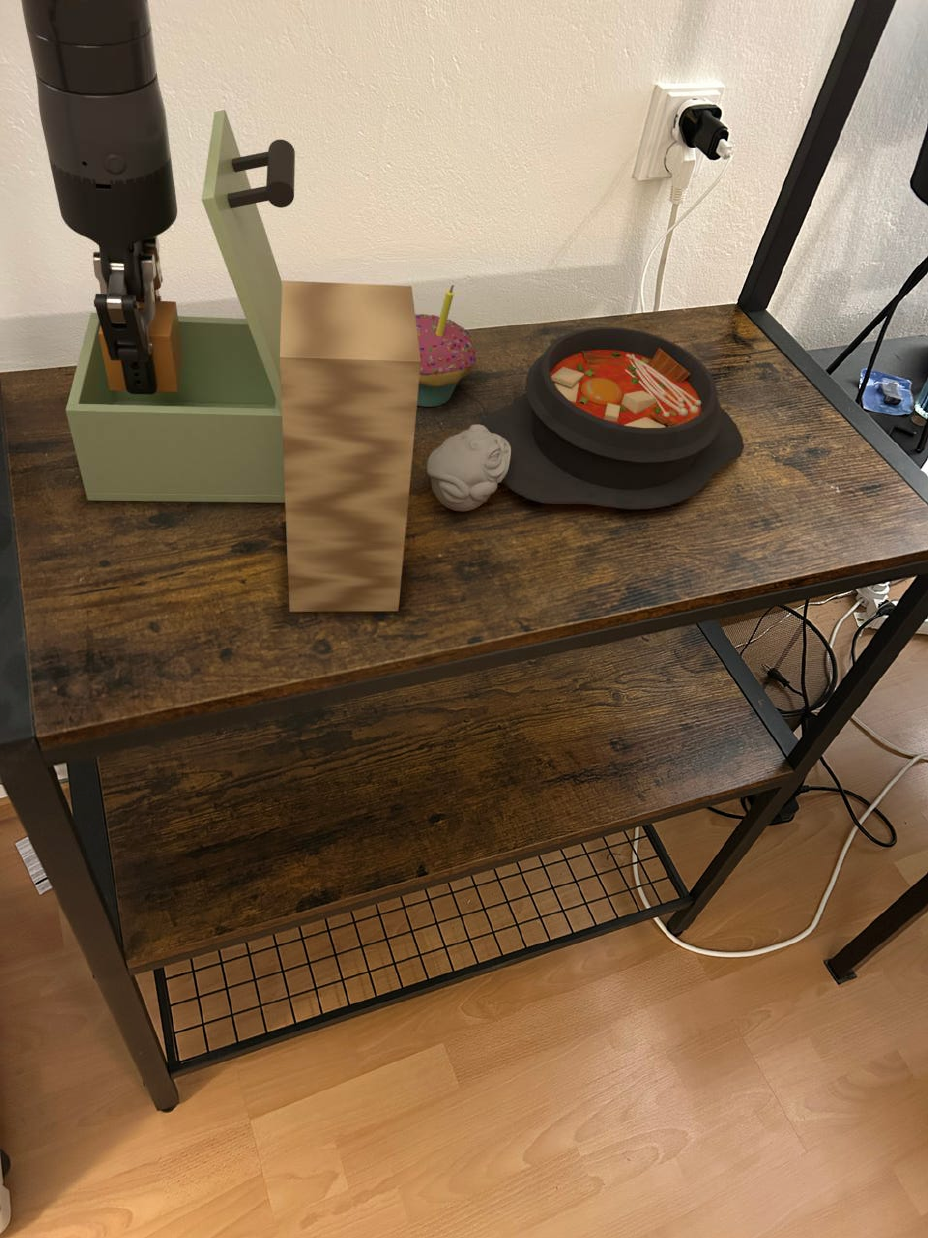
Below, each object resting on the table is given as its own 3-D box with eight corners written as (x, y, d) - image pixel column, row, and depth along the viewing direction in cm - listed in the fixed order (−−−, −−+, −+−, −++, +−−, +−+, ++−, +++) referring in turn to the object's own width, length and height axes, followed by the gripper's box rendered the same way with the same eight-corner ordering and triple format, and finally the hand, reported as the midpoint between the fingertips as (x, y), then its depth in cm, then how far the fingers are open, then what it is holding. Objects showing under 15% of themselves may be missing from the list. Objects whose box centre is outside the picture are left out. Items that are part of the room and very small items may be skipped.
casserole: (667, 372, 97) (691, 296, 90) (778, 491, 86) (814, 415, 80) (439, 416, 88) (448, 336, 82) (533, 556, 78) (551, 476, 71)
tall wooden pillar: (289, 612, 71) (279, 356, 55) (290, 535, 76) (282, 279, 60) (398, 611, 72) (421, 360, 56) (392, 535, 77) (411, 285, 61)
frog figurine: (515, 517, 80) (528, 451, 75) (438, 536, 78) (446, 469, 73) (483, 471, 84) (494, 405, 79) (409, 487, 81) (415, 420, 76)
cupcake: (488, 396, 91) (506, 280, 82) (424, 433, 86) (436, 313, 77) (423, 354, 94) (434, 237, 85) (359, 387, 90) (363, 267, 81)
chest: (87, 500, 76) (65, 409, 70) (108, 401, 84) (90, 312, 78) (288, 503, 79) (285, 415, 72) (290, 406, 87) (288, 319, 80)
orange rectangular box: (109, 390, 73) (98, 333, 70) (117, 355, 76) (106, 298, 73) (177, 392, 74) (170, 335, 70) (183, 357, 77) (175, 300, 73)
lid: (201, 199, 59) (282, 182, 59) (214, 111, 67) (285, 96, 67) (280, 411, 72) (347, 398, 71) (283, 315, 80) (343, 304, 79)
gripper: (66, 96, 66) (108, 317, 79) (26, 197, 57) (81, 428, 70) (179, 104, 67) (202, 321, 80) (158, 204, 58) (188, 430, 71)
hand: (146, 370), depth 75 cm, fingers closed on orange rectangular box, 4 cm apart
